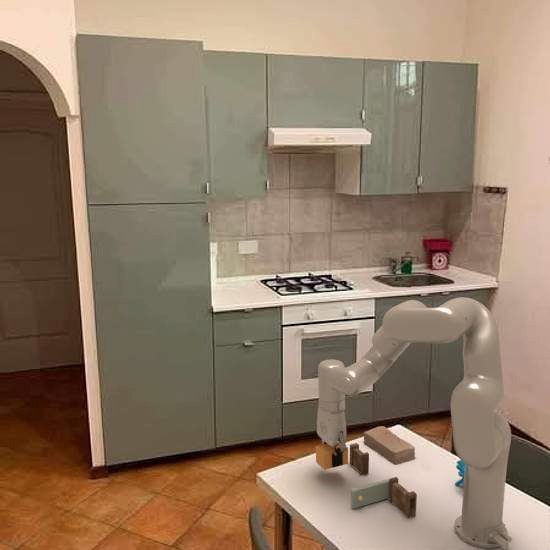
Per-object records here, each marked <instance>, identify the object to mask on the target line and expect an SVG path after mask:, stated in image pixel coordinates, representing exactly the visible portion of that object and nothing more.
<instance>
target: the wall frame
mask: <svg viewBox="0 0 550 550" xmlns="http://www.w3.org/2000/svg"><path fill="white" fill-rule="evenodd" d="M349 465H350V466H351V467H354V468H355V469H356V470H357V471H358V472H359V473H360V475H361V476H366V475H369V474H370V473H369V471H370V470H369V469H370V468H369V467H370V453H368V452H367V451H366V452H363V451H362V450H361V449H360V445H359V443H358V442H355V443H354V442H353V443H351V444H349ZM388 479H389V498H388V501H389V502H390V503H392V504H394V506H396V507H397V508H398V509H399V510H400V511H401V512H402V513H403V514H404V516H405V517H406V518H407V519H411V518H415V517H416V516H417V496H418V494H417V493H416V492H415V491H413V490H412V491H408V490H407V489H406V488H405V487H404V486H403V485H401V484H400V483H399V477H397V476H393V477H391V478H388Z"/></svg>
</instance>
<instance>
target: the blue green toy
mask: <svg viewBox="0 0 550 550" xmlns="http://www.w3.org/2000/svg"><path fill="white" fill-rule="evenodd" d="M455 468H456V470H458V472H457V474H458V476H459V477H461V479H459V480H458V481H456V482H455V483H454V485H455V486H456V487H458V486H461V485H462V484H464V472H465V464H464V463H463V462H462V461H461V460H458V461H456V466H455Z"/></svg>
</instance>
